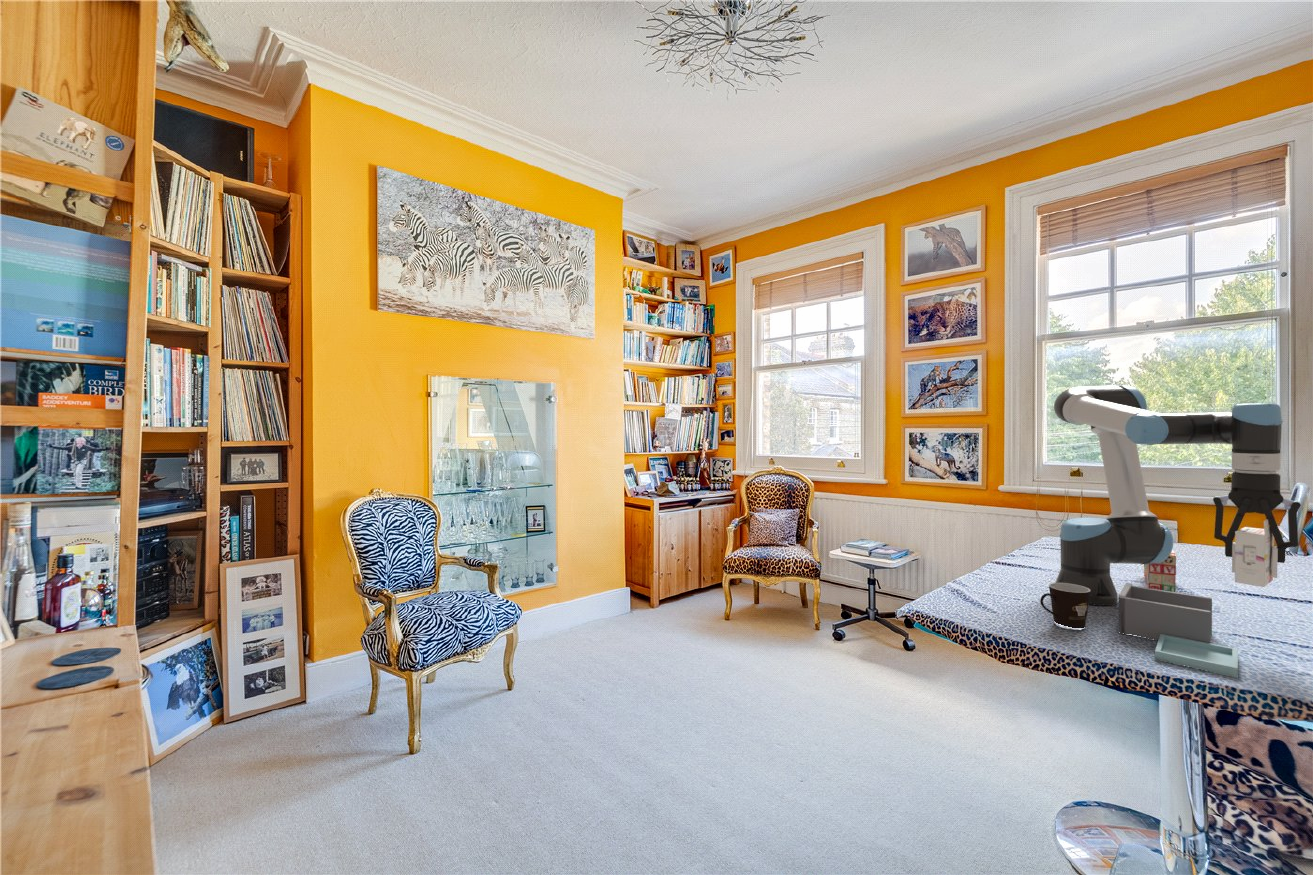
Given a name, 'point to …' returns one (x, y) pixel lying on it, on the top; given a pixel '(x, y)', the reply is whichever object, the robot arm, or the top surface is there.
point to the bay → (1164, 614)
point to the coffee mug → (1068, 604)
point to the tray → (1198, 655)
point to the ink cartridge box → (1254, 555)
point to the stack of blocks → (1162, 574)
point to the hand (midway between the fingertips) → (1253, 573)
